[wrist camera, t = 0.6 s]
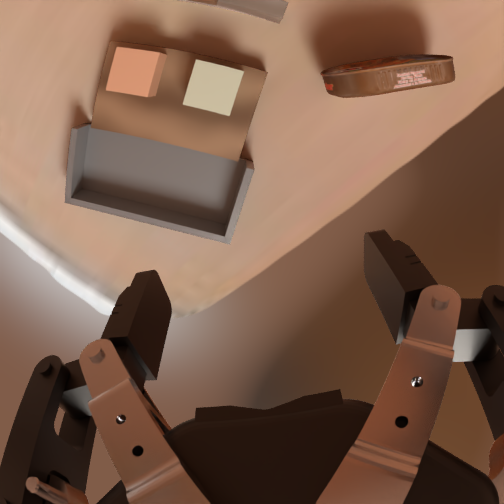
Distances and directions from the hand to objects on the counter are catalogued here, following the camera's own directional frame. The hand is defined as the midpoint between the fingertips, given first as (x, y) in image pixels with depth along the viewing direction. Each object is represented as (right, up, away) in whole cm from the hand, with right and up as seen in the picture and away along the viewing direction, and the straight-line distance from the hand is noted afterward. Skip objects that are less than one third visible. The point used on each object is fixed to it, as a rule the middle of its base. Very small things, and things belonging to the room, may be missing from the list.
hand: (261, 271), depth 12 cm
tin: (+14, +21, +17) cm, 30 cm away
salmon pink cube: (-12, +19, +15) cm, 27 cm away
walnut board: (-8, +17, +18) cm, 26 cm away
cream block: (-4, +17, +16) cm, 24 cm away
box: (-11, +9, +23) cm, 27 cm away
